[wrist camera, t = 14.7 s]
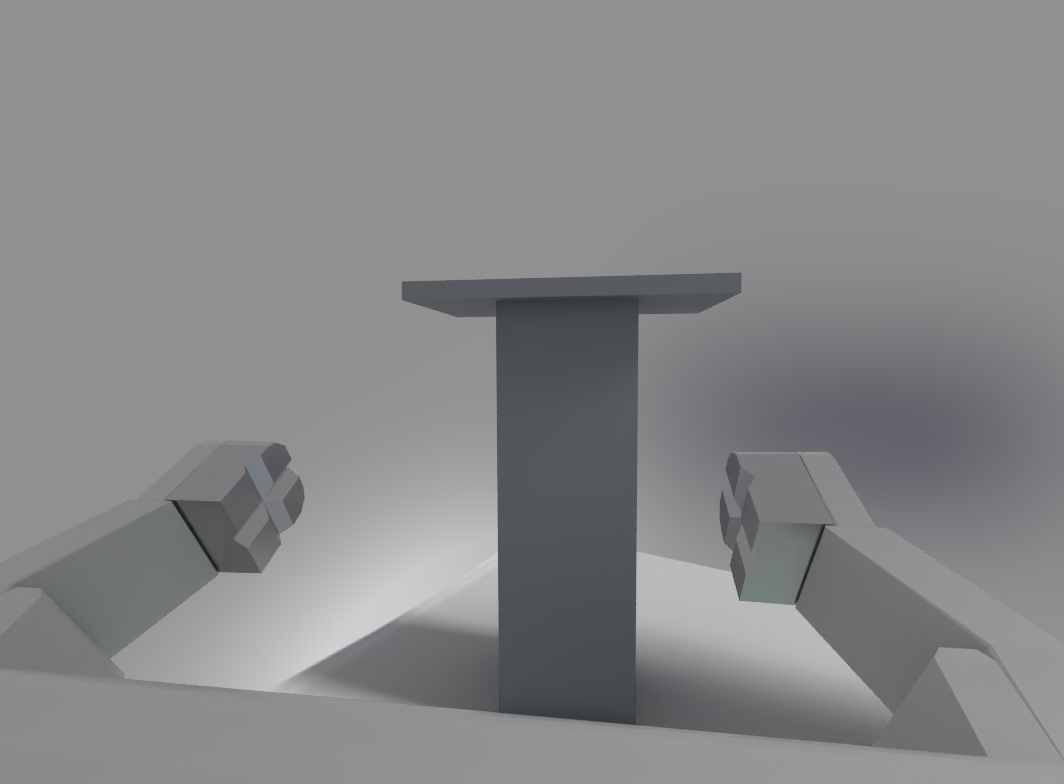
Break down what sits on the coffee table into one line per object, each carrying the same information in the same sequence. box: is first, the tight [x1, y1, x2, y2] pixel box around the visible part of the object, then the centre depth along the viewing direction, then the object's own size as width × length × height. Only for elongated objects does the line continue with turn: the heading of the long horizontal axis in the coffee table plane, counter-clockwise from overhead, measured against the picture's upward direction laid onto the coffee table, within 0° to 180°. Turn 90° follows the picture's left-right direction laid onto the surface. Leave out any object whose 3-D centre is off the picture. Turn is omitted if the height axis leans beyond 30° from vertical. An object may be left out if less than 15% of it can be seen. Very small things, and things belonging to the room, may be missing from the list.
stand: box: [402, 273, 741, 725], centre depth 33 cm, size 11×18×26 cm, turn 82°
